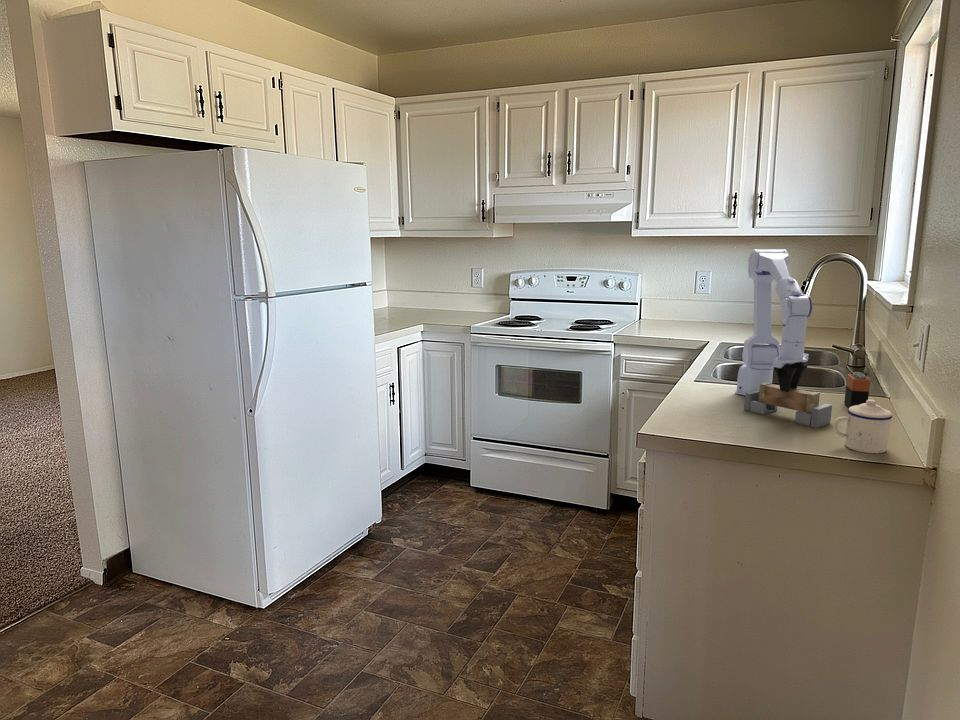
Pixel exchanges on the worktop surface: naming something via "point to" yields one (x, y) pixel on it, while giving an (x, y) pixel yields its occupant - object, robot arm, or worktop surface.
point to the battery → (856, 389)
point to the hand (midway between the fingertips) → (788, 390)
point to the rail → (788, 398)
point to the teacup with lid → (866, 427)
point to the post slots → (816, 419)
